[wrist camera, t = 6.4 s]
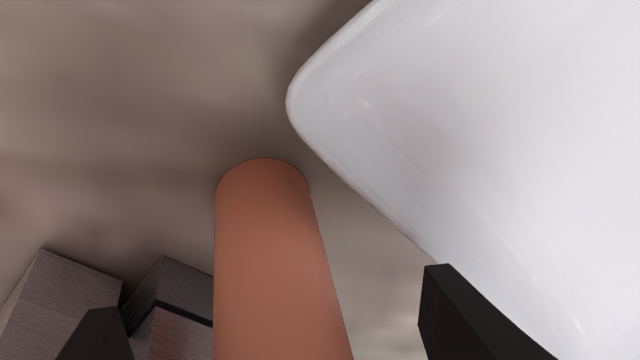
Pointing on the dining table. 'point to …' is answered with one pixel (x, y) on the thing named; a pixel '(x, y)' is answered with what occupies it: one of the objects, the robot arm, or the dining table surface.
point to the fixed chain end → (170, 295)
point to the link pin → (272, 270)
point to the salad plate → (497, 151)
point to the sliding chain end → (70, 306)
